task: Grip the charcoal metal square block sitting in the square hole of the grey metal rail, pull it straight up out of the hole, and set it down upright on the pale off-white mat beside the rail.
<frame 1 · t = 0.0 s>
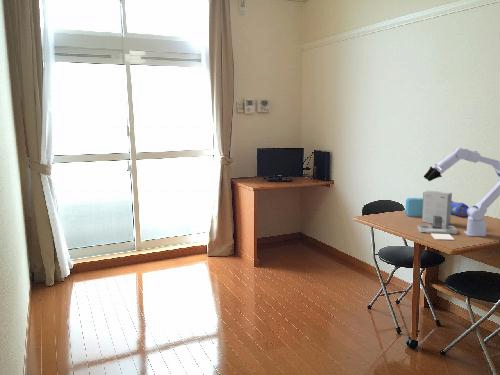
hand: (426, 178, 237), 32 cm above the table, tool tilted 50°, fingers open, 7 cm apart
mat: (442, 237, 234), on the table
data package: (415, 216, 281), on the table
grey rail: (436, 231, 245), on the table
pencil case: (452, 213, 285), on the table
square block: (437, 223, 244), in the grey rail
hard drive box: (435, 223, 263), on the table
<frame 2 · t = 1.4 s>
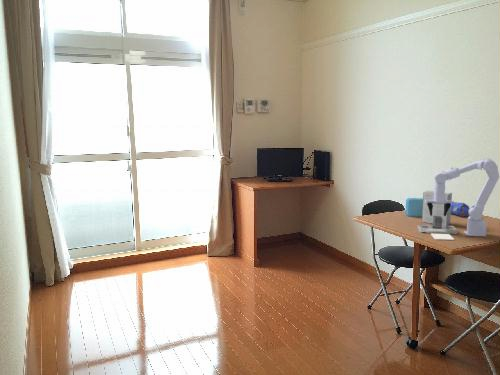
hand: (437, 215, 243), 10 cm above the table, tool pointing down, fingers open, 7 cm apart
nothing on the table moved.
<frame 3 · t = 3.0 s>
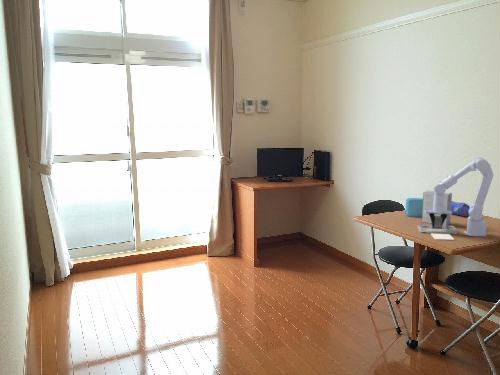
hand: (437, 226, 245), 3 cm above the table, tool pointing down, fingers closed on square block, 4 cm apart
square block: (437, 223, 244), in the grey rail, touching gripper
everything else where it was.
when the fingers open (5 cm above the table, at t = 7.6 s): square block stays where it is, resting on mat.
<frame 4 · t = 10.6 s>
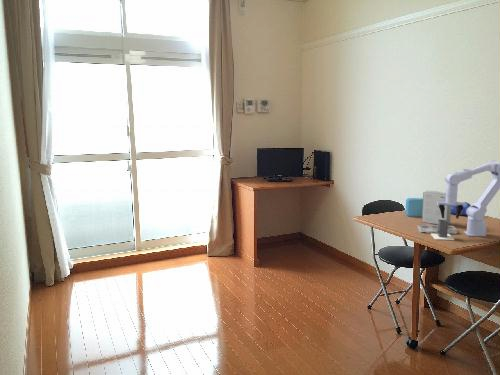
hand: (449, 218, 237), 10 cm above the table, tool pointing down, fingers open, 7 cm apart
square block: (442, 228, 233), on the mat, point 5 cm above the table
at the end: square block 0.4 cm off-centre on the mat, point 5.1 cm above the mat's base; square block tilted 0°; square block touching mat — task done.
